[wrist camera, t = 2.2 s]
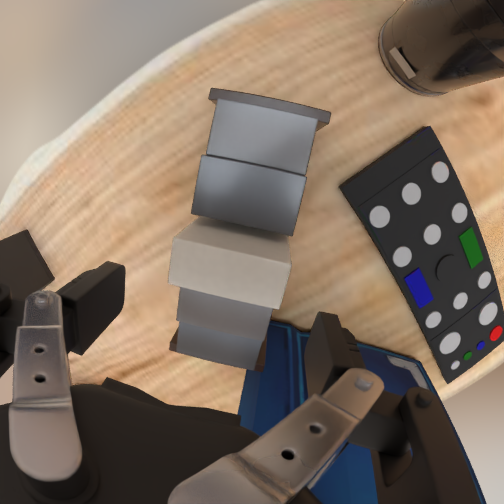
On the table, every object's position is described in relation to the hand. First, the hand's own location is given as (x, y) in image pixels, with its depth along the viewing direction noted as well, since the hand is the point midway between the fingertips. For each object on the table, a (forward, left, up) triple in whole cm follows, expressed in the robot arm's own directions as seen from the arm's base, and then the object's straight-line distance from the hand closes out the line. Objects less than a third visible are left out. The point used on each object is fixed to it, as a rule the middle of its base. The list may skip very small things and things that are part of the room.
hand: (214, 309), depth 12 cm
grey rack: (0, 0, -18) cm, 18 cm away
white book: (0, 0, -18) cm, 18 cm away
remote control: (+1, +23, -19) cm, 29 cm away
